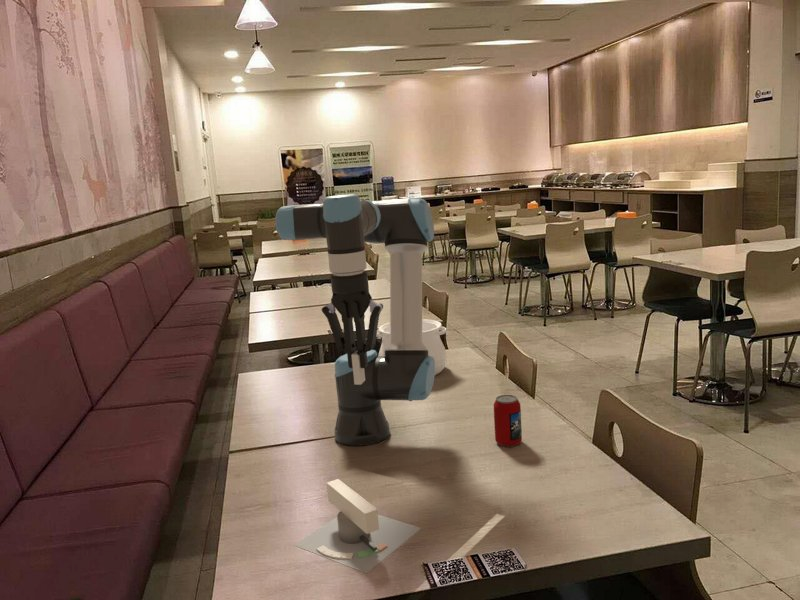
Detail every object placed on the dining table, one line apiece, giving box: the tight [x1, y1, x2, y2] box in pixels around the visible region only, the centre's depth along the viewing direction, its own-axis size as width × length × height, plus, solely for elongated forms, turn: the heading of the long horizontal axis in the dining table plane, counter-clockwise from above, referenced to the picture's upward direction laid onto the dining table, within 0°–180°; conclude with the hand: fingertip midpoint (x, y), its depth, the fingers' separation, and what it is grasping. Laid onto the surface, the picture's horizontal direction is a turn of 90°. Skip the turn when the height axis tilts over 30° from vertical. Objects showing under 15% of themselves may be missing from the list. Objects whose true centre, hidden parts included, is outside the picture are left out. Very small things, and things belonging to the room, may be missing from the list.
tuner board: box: [293, 514, 422, 574], centre depth 127 cm, size 18×17×2 cm
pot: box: [376, 318, 447, 376], centre depth 233 cm, size 26×24×17 cm
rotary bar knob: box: [326, 478, 379, 551], centre depth 126 cm, size 6×16×8 cm, turn 32°
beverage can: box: [493, 394, 523, 448], centre depth 166 cm, size 7×7×12 cm
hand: (359, 382), depth 138 cm, fingers closed
